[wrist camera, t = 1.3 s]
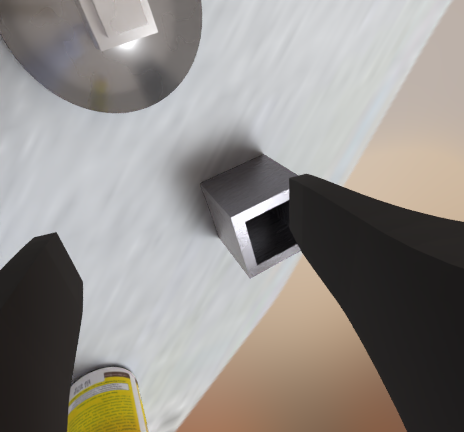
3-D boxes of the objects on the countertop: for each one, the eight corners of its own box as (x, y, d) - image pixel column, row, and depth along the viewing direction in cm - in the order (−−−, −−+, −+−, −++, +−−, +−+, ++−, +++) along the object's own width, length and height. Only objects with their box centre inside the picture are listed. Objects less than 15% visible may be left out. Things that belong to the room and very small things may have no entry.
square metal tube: (219, 238, 25) (250, 278, 21) (200, 183, 22) (230, 217, 18) (275, 210, 26) (314, 243, 22) (263, 154, 23) (306, 180, 19)
